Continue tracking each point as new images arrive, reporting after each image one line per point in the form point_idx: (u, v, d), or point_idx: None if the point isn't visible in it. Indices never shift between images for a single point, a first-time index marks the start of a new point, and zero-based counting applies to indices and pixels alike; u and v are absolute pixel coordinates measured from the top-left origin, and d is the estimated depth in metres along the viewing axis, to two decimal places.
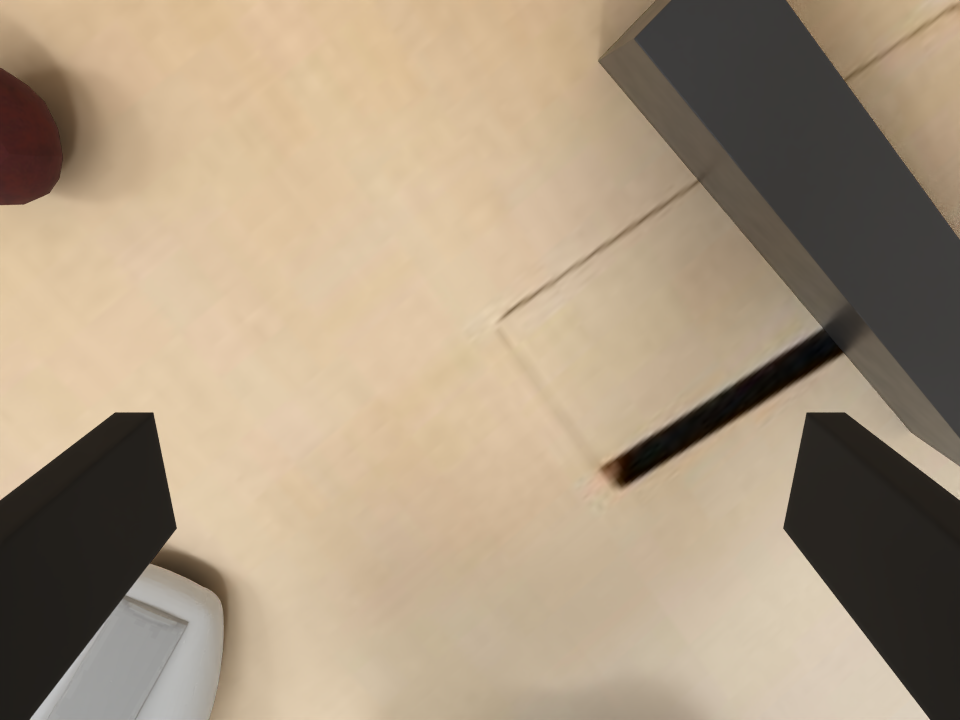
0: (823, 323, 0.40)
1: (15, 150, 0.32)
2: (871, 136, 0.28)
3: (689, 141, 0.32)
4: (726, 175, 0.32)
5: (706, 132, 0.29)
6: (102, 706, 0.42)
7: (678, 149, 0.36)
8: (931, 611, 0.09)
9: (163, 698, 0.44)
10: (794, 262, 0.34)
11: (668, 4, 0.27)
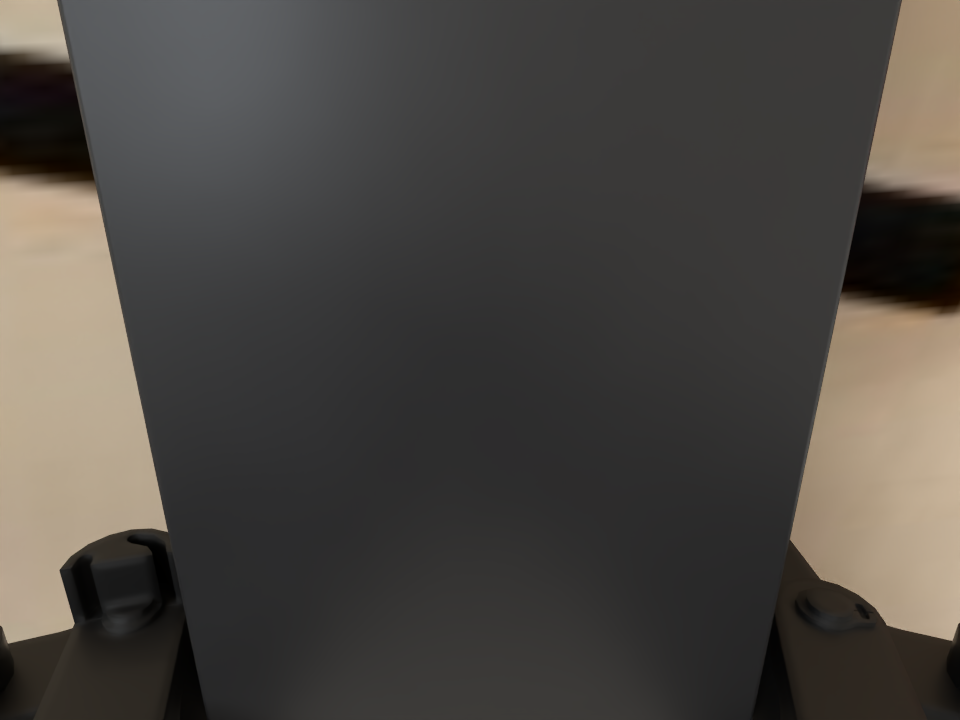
0: None
1: None
2: None
3: None
4: None
5: None
6: None
7: None
8: None
9: None
10: None
11: None
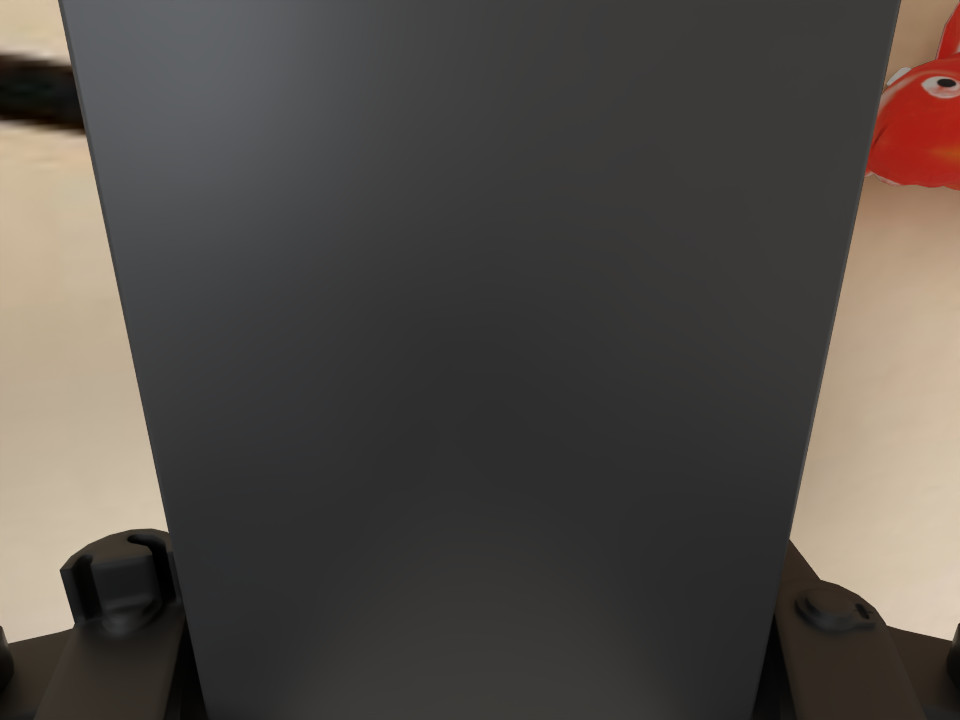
0: None
1: None
2: None
3: None
4: None
5: None
6: None
7: None
8: None
9: None
10: None
11: None
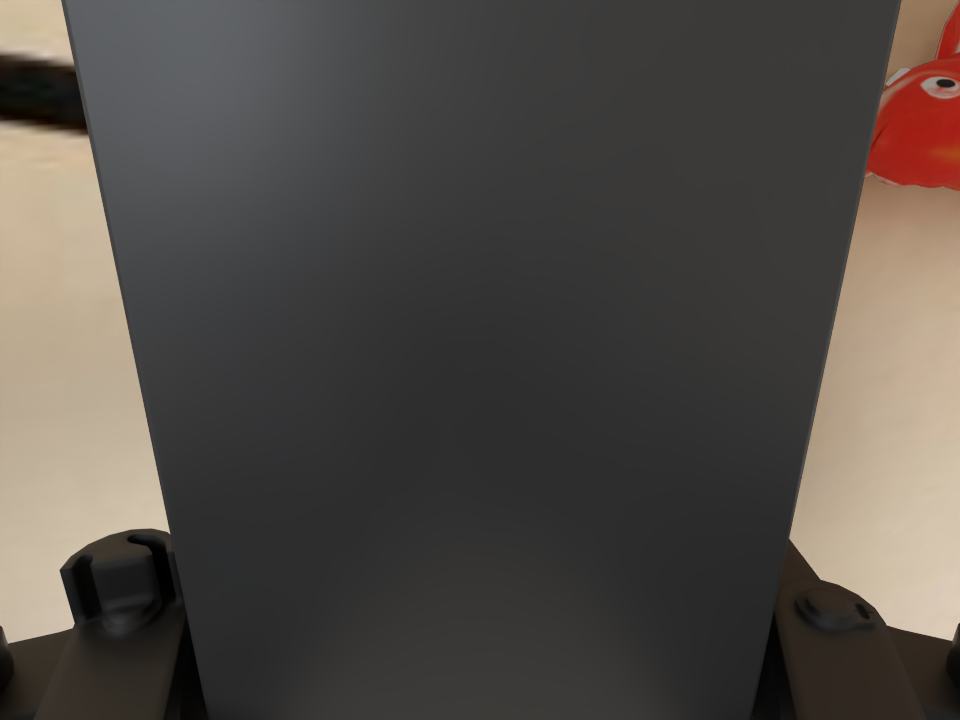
0: None
1: None
2: None
3: None
4: None
5: None
6: None
7: None
8: None
9: None
10: None
11: None
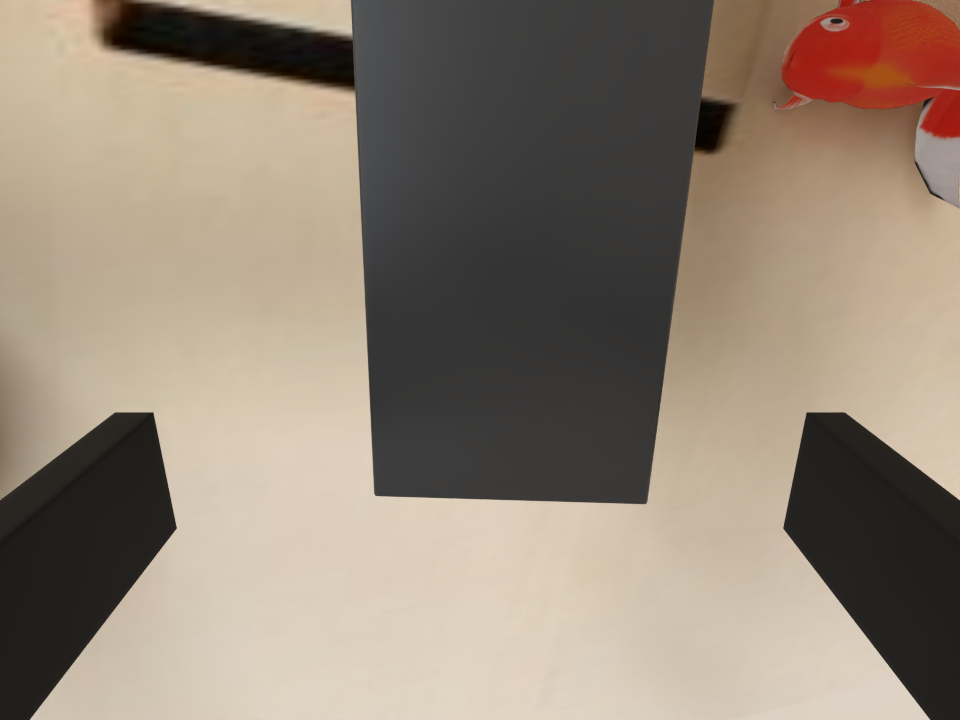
0: None
1: None
2: None
3: None
4: None
5: None
6: None
7: None
8: (930, 611, 0.09)
9: None
10: None
11: None
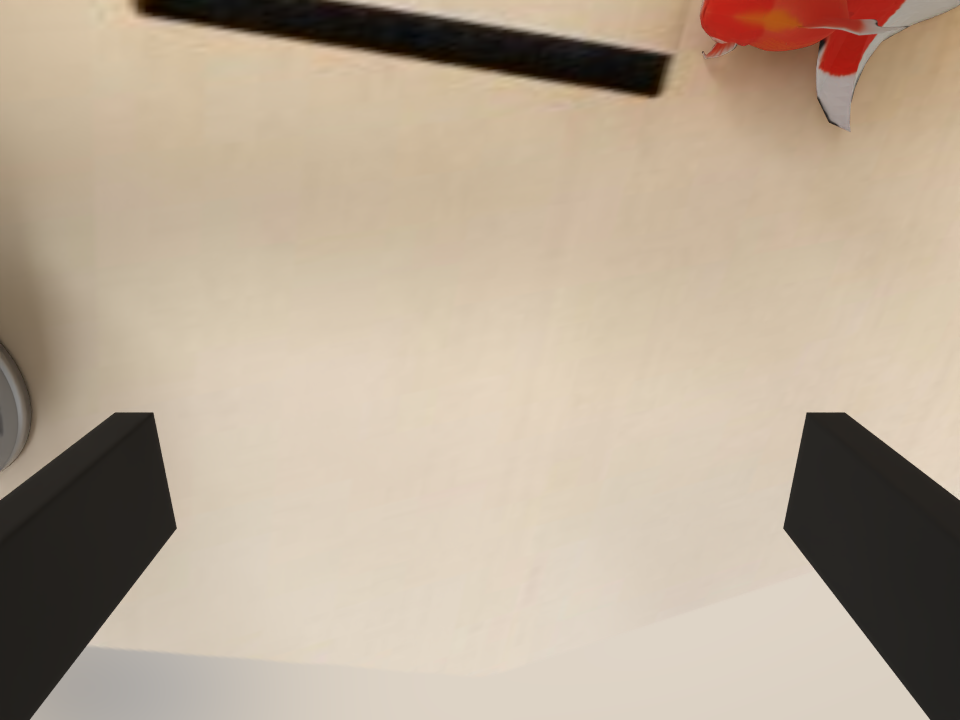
0: None
1: None
2: None
3: None
4: None
5: None
6: None
7: None
8: (931, 611, 0.09)
9: None
10: None
11: None
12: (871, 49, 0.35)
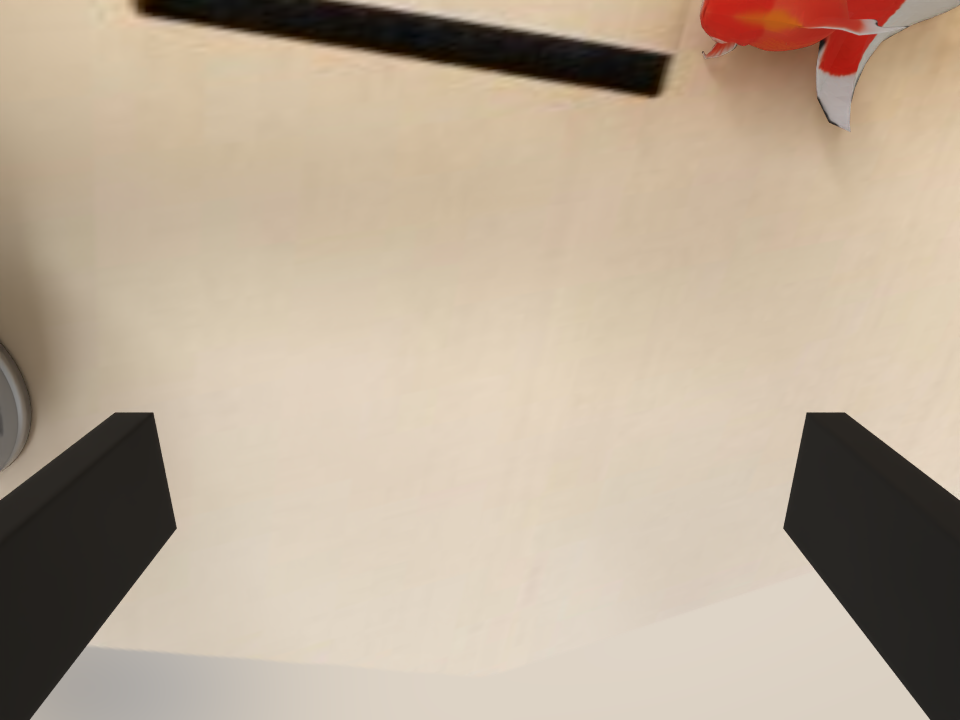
0: None
1: None
2: None
3: None
4: None
5: None
6: None
7: None
8: (931, 611, 0.09)
9: None
10: None
11: None
12: (871, 49, 0.35)
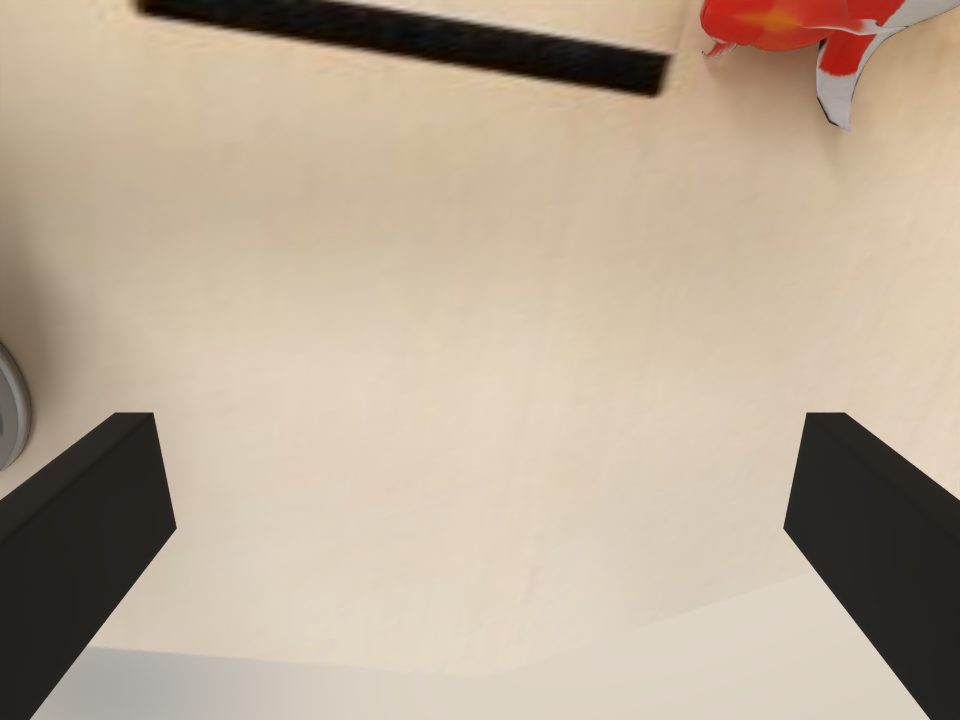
0: None
1: None
2: None
3: None
4: None
5: None
6: None
7: None
8: (931, 611, 0.09)
9: None
10: None
11: None
12: (871, 49, 0.35)
